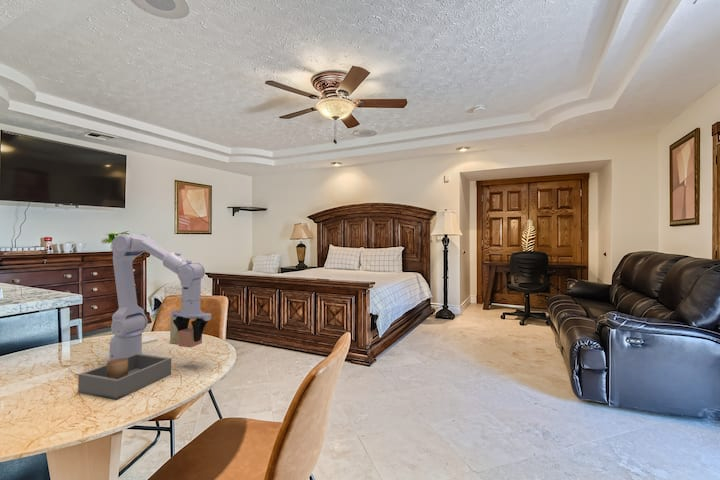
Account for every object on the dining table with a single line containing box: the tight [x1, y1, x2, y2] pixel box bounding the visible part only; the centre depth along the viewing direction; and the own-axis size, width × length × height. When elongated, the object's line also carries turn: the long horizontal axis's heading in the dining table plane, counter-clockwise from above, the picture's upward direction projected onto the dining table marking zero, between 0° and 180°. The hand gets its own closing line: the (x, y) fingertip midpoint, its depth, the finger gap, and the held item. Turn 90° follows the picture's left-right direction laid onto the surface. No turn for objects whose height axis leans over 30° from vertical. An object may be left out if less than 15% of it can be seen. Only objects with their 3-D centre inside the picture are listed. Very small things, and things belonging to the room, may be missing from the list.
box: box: [169, 316, 179, 345], centre depth 141 cm, size 5×4×11 cm
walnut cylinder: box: [106, 358, 128, 379], centre depth 99 cm, size 5×5×7 cm
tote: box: [77, 353, 172, 401], centre depth 102 cm, size 14×18×5 cm
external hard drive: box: [142, 335, 158, 346], centre depth 139 cm, size 2×8×12 cm
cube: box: [178, 326, 203, 348], centre depth 115 cm, size 5×5×5 cm
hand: (190, 340), depth 115 cm, fingers closed on cube, 5 cm apart
